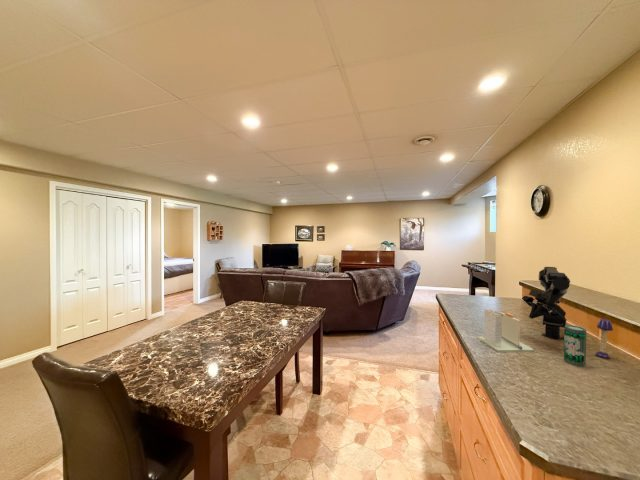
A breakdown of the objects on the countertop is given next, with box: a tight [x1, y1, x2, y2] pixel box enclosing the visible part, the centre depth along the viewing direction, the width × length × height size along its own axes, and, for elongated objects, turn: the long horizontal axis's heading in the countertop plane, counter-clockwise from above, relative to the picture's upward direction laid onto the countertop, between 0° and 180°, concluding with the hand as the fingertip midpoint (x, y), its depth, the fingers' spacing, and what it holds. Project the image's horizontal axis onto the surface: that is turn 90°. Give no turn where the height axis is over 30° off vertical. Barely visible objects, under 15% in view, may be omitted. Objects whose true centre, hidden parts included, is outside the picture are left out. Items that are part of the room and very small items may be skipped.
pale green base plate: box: [476, 335, 535, 353], centre depth 122 cm, size 17×15×2 cm
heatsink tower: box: [483, 309, 503, 347], centre depth 122 cm, size 5×8×15 cm, turn 0°
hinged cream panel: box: [499, 311, 521, 347], centre depth 122 cm, size 1×13×14 cm, turn 0°
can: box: [563, 324, 587, 368], centre depth 105 cm, size 6×6×15 cm
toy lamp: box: [595, 318, 614, 360], centre depth 109 cm, size 5×5×17 cm
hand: (530, 317), depth 121 cm, fingers closed
